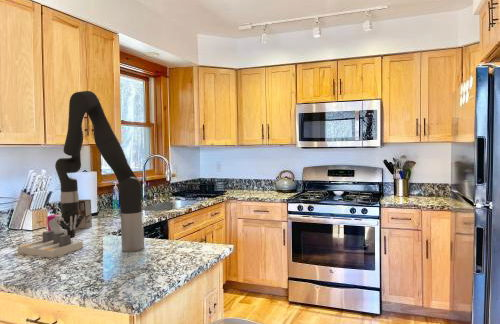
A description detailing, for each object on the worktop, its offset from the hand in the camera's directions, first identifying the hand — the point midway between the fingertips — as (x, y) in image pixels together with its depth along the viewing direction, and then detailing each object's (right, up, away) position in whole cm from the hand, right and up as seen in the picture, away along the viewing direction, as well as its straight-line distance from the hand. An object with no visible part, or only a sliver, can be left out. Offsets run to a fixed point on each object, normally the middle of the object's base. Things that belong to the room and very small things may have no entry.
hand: (71, 237), depth 169 cm
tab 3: (-1, -3, -3) cm, 5 cm away
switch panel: (-8, -5, -2) cm, 10 cm away
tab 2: (-7, -3, +2) cm, 8 cm away
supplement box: (-20, -4, +23) cm, 31 cm away
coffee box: (-15, -3, +44) cm, 47 cm away
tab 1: (-13, -3, +5) cm, 14 cm away
